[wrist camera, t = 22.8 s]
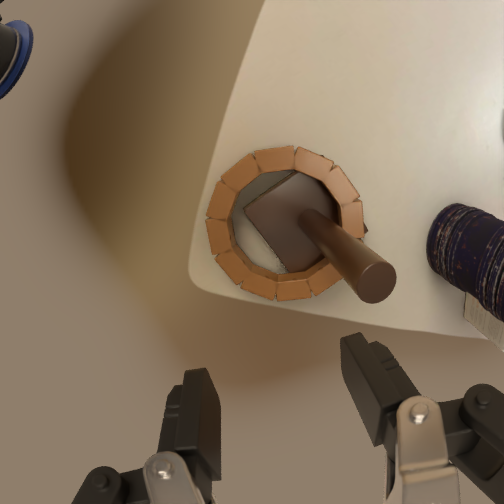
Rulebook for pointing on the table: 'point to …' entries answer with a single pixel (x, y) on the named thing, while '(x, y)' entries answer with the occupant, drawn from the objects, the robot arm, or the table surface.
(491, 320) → the small box
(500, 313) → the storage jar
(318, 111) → the table surface
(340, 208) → the ring
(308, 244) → the peg
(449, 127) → the table surface
